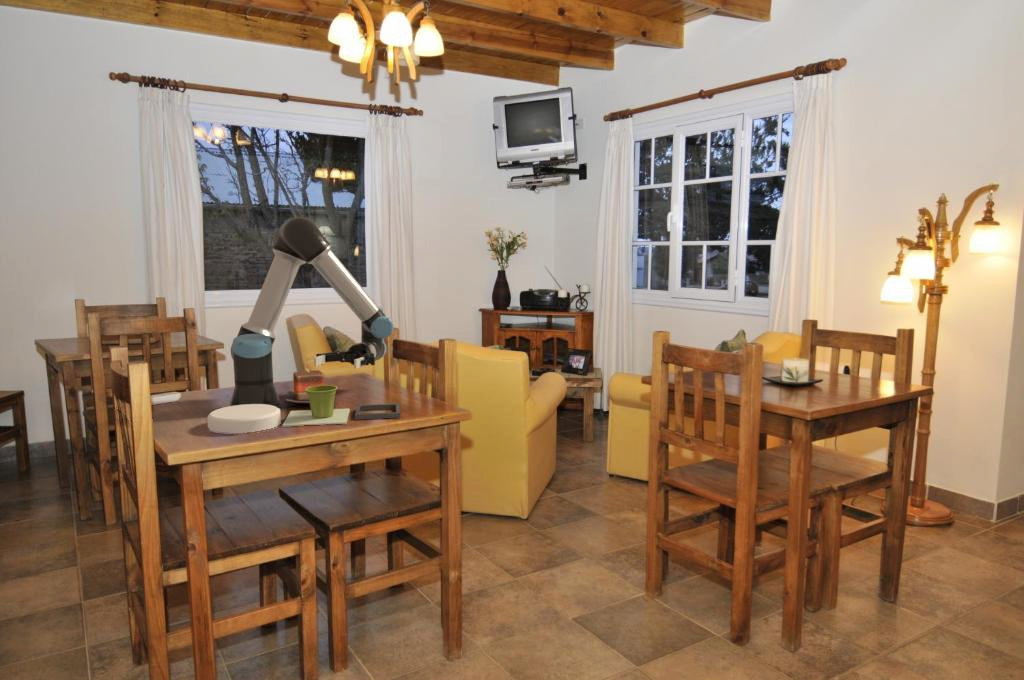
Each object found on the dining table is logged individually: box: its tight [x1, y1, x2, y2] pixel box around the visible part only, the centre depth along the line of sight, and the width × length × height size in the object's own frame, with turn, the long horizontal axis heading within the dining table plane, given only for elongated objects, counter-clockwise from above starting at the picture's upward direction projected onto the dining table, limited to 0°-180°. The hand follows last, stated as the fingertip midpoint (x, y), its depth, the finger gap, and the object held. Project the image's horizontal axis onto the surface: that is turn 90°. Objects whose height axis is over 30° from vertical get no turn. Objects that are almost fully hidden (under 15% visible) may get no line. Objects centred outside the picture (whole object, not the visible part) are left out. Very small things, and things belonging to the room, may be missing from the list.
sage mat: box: [281, 408, 350, 428], centre depth 217 cm, size 18×18×1 cm
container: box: [206, 404, 282, 433], centre depth 208 cm, size 20×20×5 cm
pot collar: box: [354, 403, 401, 421], centre depth 222 cm, size 13×13×2 cm
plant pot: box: [304, 384, 338, 418], centre depth 216 cm, size 9×9×9 cm
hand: (334, 363), depth 226 cm, fingers open, 13 cm apart
